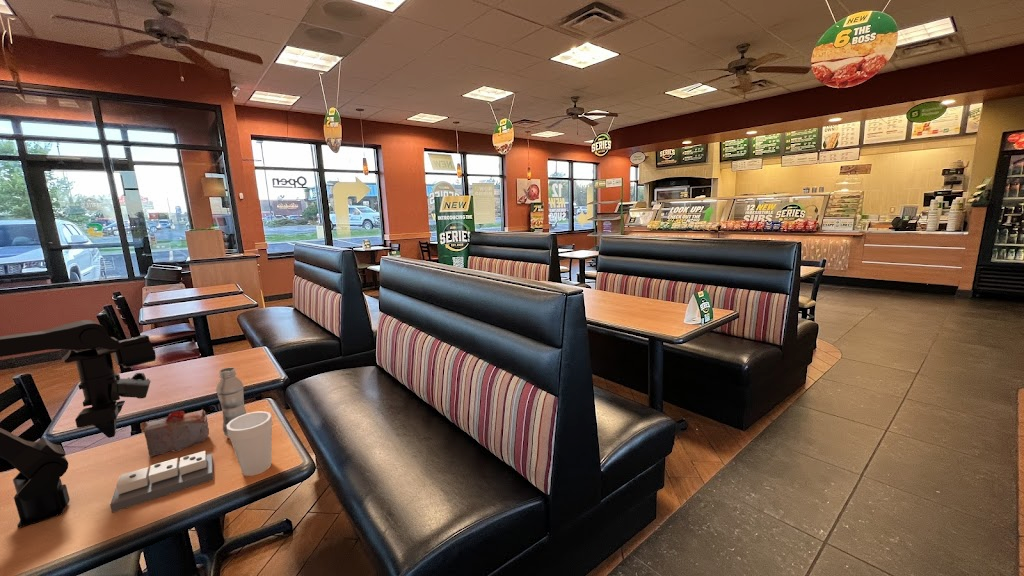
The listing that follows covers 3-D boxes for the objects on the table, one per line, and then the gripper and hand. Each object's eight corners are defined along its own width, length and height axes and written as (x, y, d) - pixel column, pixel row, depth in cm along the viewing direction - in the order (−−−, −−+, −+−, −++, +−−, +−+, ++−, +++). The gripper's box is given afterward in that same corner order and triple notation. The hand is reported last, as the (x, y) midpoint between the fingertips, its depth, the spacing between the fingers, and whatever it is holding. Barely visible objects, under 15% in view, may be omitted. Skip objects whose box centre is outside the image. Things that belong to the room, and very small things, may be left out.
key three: (180, 475, 98) (179, 466, 98) (181, 465, 102) (180, 456, 102) (206, 467, 101) (205, 459, 101) (206, 457, 105) (205, 449, 105)
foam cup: (286, 462, 107) (279, 415, 104) (251, 483, 98) (242, 433, 96) (262, 453, 111) (255, 408, 108) (226, 473, 102) (217, 425, 100)
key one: (117, 494, 92) (115, 485, 92) (121, 482, 96) (119, 474, 96) (147, 485, 95) (145, 476, 94) (150, 474, 99) (148, 466, 98)
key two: (150, 483, 95) (148, 475, 95) (152, 472, 99) (150, 464, 99) (177, 475, 98) (176, 466, 98) (179, 465, 102) (177, 457, 102)
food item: (210, 431, 123) (205, 400, 121) (211, 443, 116) (205, 411, 114) (150, 448, 115) (143, 415, 113) (147, 461, 109) (139, 427, 107)
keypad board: (112, 512, 90) (110, 504, 90) (119, 488, 98) (118, 480, 98) (213, 479, 100) (211, 472, 100) (213, 460, 108) (211, 453, 108)
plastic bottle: (238, 441, 117) (227, 375, 113) (218, 439, 118) (206, 373, 114) (256, 429, 123) (246, 366, 119) (237, 428, 124) (226, 364, 120)
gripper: (138, 378, 92) (152, 442, 95) (148, 355, 107) (159, 411, 110) (67, 392, 86) (84, 460, 89) (88, 365, 101) (102, 424, 104)
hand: (111, 436), depth 98 cm, fingers closed
